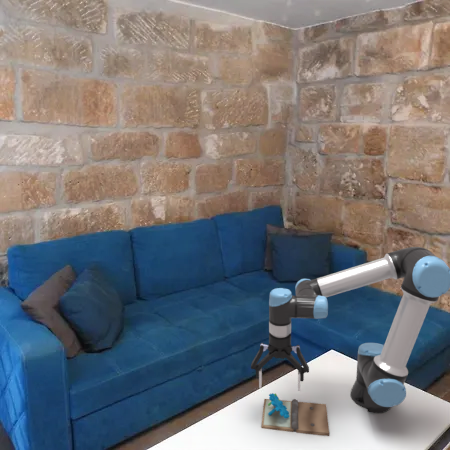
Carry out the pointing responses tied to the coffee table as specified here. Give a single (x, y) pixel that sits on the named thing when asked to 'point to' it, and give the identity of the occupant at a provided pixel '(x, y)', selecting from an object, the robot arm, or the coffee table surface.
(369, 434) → the coffee table surface
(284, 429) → the hinge board
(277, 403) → the gear
